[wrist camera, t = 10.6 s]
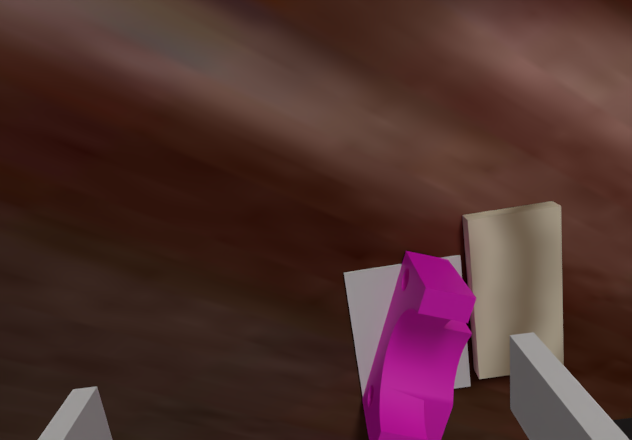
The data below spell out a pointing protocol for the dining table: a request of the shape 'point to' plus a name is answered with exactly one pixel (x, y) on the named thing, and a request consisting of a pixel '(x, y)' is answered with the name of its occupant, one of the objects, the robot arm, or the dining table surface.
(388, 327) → the toy block
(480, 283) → the board
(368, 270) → the mat
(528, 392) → the robot arm
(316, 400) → the dining table surface
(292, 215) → the dining table surface
